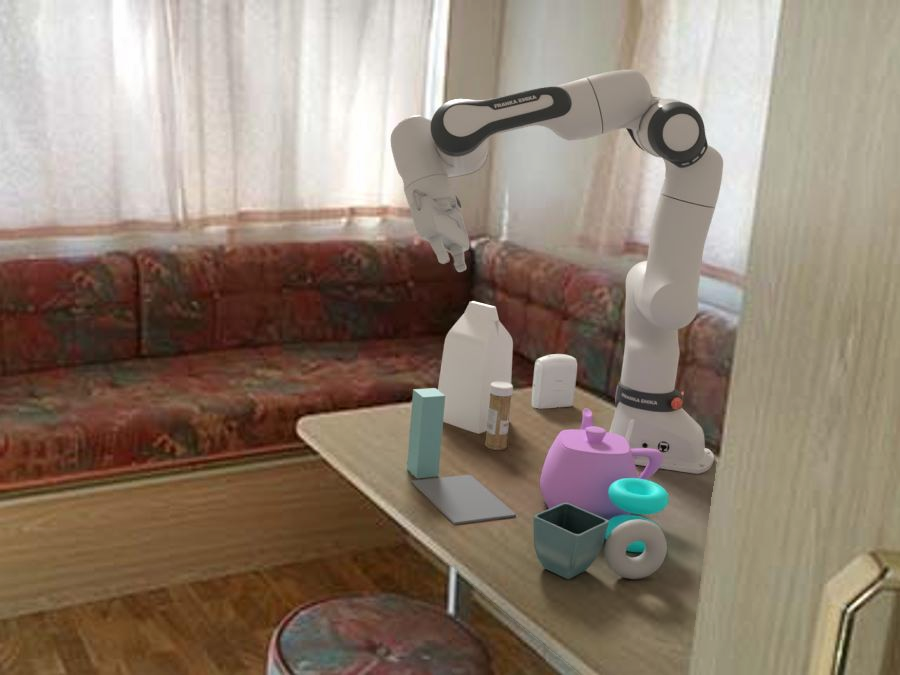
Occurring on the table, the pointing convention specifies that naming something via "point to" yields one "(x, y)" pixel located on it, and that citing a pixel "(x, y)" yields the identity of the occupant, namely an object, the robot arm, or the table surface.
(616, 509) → the teapot
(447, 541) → the table surface
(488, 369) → the milk
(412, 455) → the teal block
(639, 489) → the donuts
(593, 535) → the flower pot
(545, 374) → the photo printer
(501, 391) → the sprinkles bottle
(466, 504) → the grey mat
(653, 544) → the donut
